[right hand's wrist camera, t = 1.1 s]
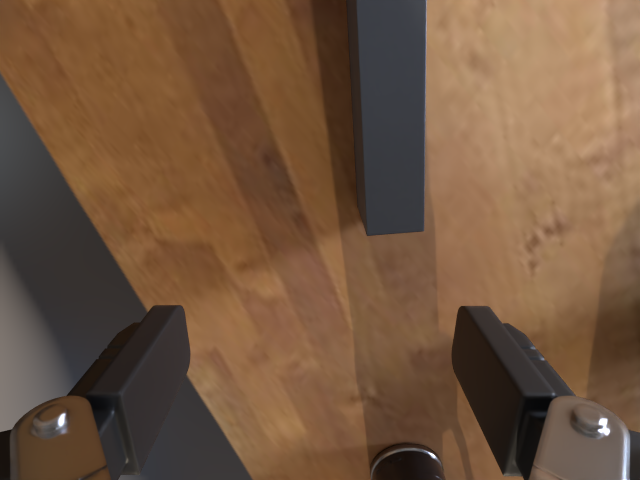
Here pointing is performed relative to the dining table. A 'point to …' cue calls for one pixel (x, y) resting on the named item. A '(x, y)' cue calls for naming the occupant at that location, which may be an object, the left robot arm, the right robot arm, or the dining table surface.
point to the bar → (388, 112)
